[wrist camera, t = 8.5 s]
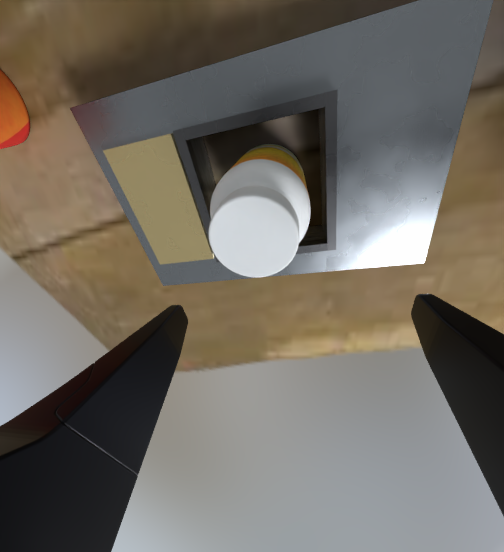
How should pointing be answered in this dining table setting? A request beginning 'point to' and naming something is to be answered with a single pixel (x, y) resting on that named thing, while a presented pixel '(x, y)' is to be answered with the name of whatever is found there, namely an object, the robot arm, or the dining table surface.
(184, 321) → the robot arm
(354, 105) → the grey base block
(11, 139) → the paper cup
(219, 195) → the supplement bottle
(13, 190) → the dining table surface
